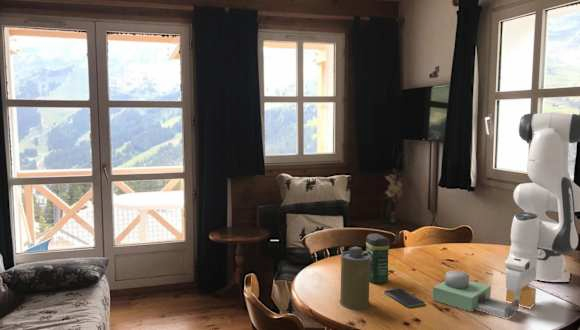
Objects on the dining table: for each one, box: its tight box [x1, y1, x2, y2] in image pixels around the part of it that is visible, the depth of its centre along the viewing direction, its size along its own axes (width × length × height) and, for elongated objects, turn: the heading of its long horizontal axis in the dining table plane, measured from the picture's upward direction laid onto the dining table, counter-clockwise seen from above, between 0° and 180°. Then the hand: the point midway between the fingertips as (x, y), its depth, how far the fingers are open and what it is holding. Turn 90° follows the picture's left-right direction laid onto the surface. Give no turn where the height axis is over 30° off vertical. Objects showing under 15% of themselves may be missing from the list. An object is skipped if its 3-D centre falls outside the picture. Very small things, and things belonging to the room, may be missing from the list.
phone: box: [383, 288, 426, 309], centre depth 166 cm, size 8×1×15 cm
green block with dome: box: [432, 270, 492, 312], centre depth 165 cm, size 16×14×9 cm
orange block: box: [505, 286, 537, 307], centre depth 162 cm, size 5×8×6 cm, turn 45°
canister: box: [339, 245, 371, 310], centre depth 161 cm, size 11×10×20 cm
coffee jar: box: [365, 233, 390, 284], centre depth 184 cm, size 10×8×19 cm
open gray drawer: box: [475, 296, 520, 320], centre depth 156 cm, size 10×11×4 cm
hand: (520, 297), depth 162 cm, fingers closed on orange block, 5 cm apart
